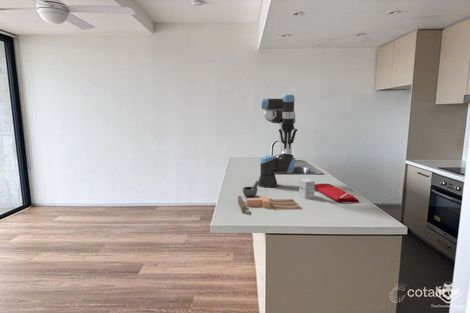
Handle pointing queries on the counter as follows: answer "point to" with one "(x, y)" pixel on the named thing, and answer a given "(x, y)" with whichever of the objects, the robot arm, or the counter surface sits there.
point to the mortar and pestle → (250, 190)
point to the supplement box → (306, 188)
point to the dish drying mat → (335, 193)
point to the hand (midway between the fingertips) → (286, 153)
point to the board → (276, 205)
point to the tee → (258, 202)
